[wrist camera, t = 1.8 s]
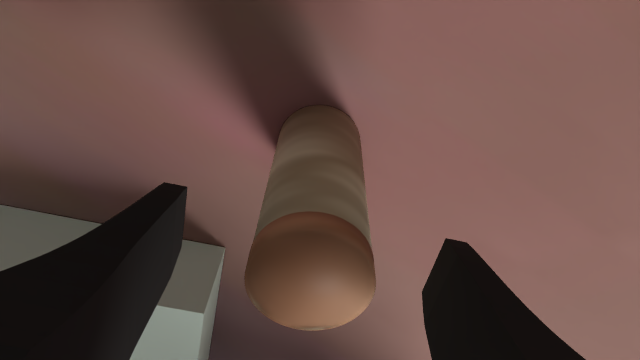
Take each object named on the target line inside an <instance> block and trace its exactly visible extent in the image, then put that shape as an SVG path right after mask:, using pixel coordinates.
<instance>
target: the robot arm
mask: <svg viewBox="0 0 640 360" xmlns="http://www.w3.org/2000/svg"><path fill="white" fill-rule="evenodd" d="M186 196H187V187H185V186H180V185H175V184H170V183H165V182H164V183H163V184H161V185H159V186H158V187H156V188H155V189H154V190H152V191H151V192H149V193H148V194H147V195H145V196H144V197H142V198H141V199H140V200H138V201H137V202H135V203H134V204H132V205H131V206H129V207H128V208H126V209H125V210H123V211H122V212H120V213H119V214H117V215H116V216H114V217H113V218H111V219H110V220H108V221H106V222H105V223H103V224H101V225H100V226H98V227H96V228H95V229H93V230H91V231H89V232H88V233H86V234H84V235H83V236H81V237H79V238H77V239H75V240H73V241H71V242H69V243H67V244H65V245H63V246H61V247H59V248H57V249H54V250H52V251H50V252H48V253H46V254H43V255H41V256H39V257H36V258H34V259H31V260H28V261H26V262H23V263H21V264H18V265H15V266H13V267H10V268H8V269H5V270H2V271H0V360H130V358H131V356H132V353H133V351H134V349H135V347H136V345H137V343H138V341H139V339H140V337H141V335H142V333H143V331H144V329H145V327H146V325H147V323H148V322H149V320H150V318H151V316H152V314H153V312H154V310H155V308H156V306H157V304H158V302H159V300H160V298H161V296H162V294H163V292H164V290H165V288H166V286H167V284H168V282H169V280H170V278H171V275H172V273H173V270H174V267H175V265H176V262H177V259H178V256H179V253H180V250H181V247H182V239H183V228H184V217H185V207H186ZM422 300H423V314H424V325H425V330H426V334H427V339H428V344H429V348H430V353H431V357H432V360H586V359H584V358H583V357H582V356H580V355H579V354H578V353H577V352H576V351H574V350H573V349H572V348H571V347H570V346H569V345H567V344H566V343H565V342H564V341H563V340H562V339H560V338H559V337H558V336H557V335H556V334H555V333H553V332H552V331H551V330H550V329H549V328H548V327H547V326H546V325H545V324H544V323H543V322H542V321H541V320H540V319H539V318H538V317H537V316H536V315H535V314H533V313H532V312H531V311H530V310H529V309H528V308H527V307H526V306H525V305H524V304H523V302H522V301H521V300H520V299H519V298H518V297H517V296H516V295H515V294H514V293H513V292H512V291H511V290H510V289H509V288H508V287H507V286H506V284H505V283H504V282H503V281H502V280H501V279H500V278H499V277H498V276H497V275H496V273H495V272H494V271H493V270H492V269H491V268H490V267H489V266H488V264H487V263H486V262H485V261H484V260H483V259H482V258H481V257H480V256H479V255H478V253H477V252H476V251H475V250H474V249H473V248H472V247H471V246H470V245H469V244H468V243H467V242H462V241H457V240H452V239H447V238H446V239H445V241H444V243H443V246H442V248H441V250H440V252H439V255H438V257H437V259H436V261H435V264H434V266H433V268H432V270H431V273H430V275H429V277H428V279H427V282H426V284H425V286H424V288H423V291H422Z"/></svg>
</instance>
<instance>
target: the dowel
mask: <svg viewBox="0 0 640 360" xmlns="http://www.w3.org/2000/svg"><path fill="white" fill-rule="evenodd" d="M244 279H245V287H246V291H247V294H248V296H249V298H250V300H251V301H252V303H253V304H254V305H255V307H256V308H257V309H258V310H259V311H260V312H261V313H262V314H264V315H265V316H266V317H268V318H269V319H271V320H273V321H274V322H277V323H279V324H281V325H284V326H287V327H290V328H294V329H299V330H312V331H314V330H325V329H331V328H335V327H338V326H341V325H344V324H346V323H348V322H350V321H351V320H353V319H355V318H356V317H357V316H359V315H360V314H361V313H362V312H363V311H364V310H365V309H366V308H367V306H368V305H369V303H370V302H371V300H372V298H373V296H374V292H375V287H376V278H375V268H374V259H373V253H372V247H371V238H370V228H369V219H368V209H367V200H366V190H365V180H364V171H363V161H362V152H361V142H360V135H359V132H358V129H357V127H356V125H355V123H354V122H353V121H352V119H351V118H350V117H349V116H348V115H346V114H345V113H344V112H342V111H340V110H339V109H336V108H334V107H330V106H325V105H312V106H308V107H304V108H302V109H300V110H298V111H296V112H295V113H293V114H292V115H291V116H290V117H288V119H287V120H286V121H285V123H284V124H283V126H282V128H281V131H280V134H279V138H278V142H277V146H276V151H275V155H274V159H273V163H272V167H271V171H270V175H269V179H268V183H267V188H266V192H265V196H264V200H263V204H262V208H261V212H260V216H259V220H258V224H257V229H256V233H255V237H254V241H253V244H252V246H251V250H250V254H249V258H248V262H247V266H246V270H245V278H244Z"/></svg>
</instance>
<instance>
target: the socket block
mask: <svg viewBox="0 0 640 360" xmlns="http://www.w3.org/2000/svg"><path fill="white" fill-rule="evenodd" d="M100 225H101V224H99V223H94V222H89V221H83V220H78V219H73V218H68V217H62V216H57V215H52V214H47V213H41V212H36V211H31V210H26V209H21V208H15V207H10V206H5V205H0V271H2V270H5V269H8V268H10V267H13V266H15V265H18V264H21V263H23V262H26V261H28V260H31V259H34V258H36V257H39V256H41V255H43V254H46V253H48V252H50V251H52V250H54V249H57V248H59V247H61V246H63V245H65V244H67V243H69V242H71V241H73V240H75V239H77V238H79V237H81V236H83V235H84V234H86V233H88V232H89V231H91V230H93V229H95V228H96V227H98V226H100ZM224 253H225V247H220V246H214V245H209V244H204V243H199V242H193V241H188V240H183V239H182V247H181V250H180V253H179V256H178V259H177V262H176V265H175V267H174V270H173V273H172V275H171V278H170V280H169V282H168V284H167V286H166V288H165V290H164V292H163V294H162V296H161V298H160V300H159V302H158V304H157V306H156V308H155V310H154V312H153V314H152V316H151V318H150V320H149V322H148V323H147V325H146V327H145V329H144V331H143V333H142V335H141V337H140V339H139V341H138V343H137V345H136V347H135V349H134V351H133V353H132V356H131V358H130V360H208V358H209V352H210V345H211V339H212V332H213V326H214V319H215V312H216V306H217V299H218V293H219V286H220V280H221V273H222V266H223V260H224Z"/></svg>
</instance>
